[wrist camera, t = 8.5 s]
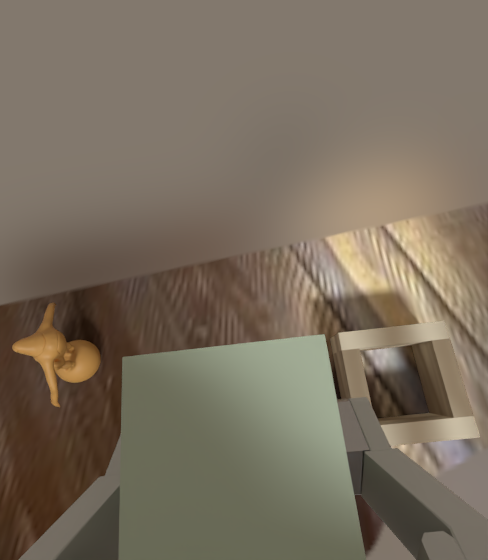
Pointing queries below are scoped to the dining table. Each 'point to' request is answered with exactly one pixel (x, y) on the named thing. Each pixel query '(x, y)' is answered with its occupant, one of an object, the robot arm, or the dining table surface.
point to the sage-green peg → (235, 456)
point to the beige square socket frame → (433, 374)
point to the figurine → (59, 354)
